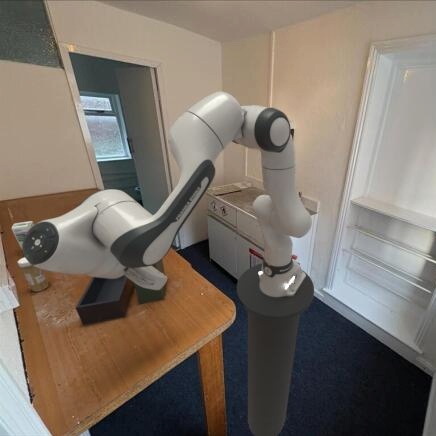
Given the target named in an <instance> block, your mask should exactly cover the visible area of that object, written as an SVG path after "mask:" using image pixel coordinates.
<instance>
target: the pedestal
mask: <svg viewBox="0 0 436 436" xmlns="http://www.w3.org/2000/svg"><path fill="white" fill-rule="evenodd" d="M152 266H153V267H154V268H156V269H157V270H158V271H161V272H162V273H163V274H164V275H165V276H166V272H165V271H166V270H165V267H164V261H163V259H162V260H160V261H159V262H158V263H156V264H154V265H152ZM133 283H134V282H133ZM166 283H167V282H166ZM166 283H165V285H164V286H163V287H162V288H161V289H160V290H152V289H147V288H143V287H141V286H139V285H137V284H136V283H134V290H135V293H136V298H137V301H138V304H140V305H141V304H146V303H152V302H156V301H161V300H164V297H165V291H166Z"/></svg>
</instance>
